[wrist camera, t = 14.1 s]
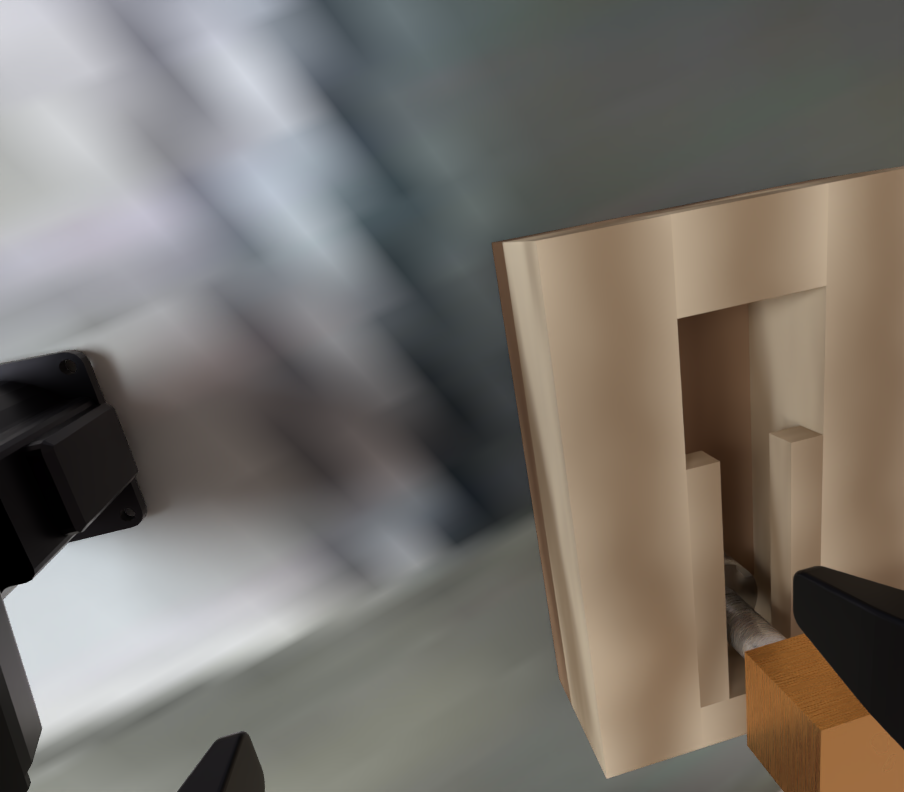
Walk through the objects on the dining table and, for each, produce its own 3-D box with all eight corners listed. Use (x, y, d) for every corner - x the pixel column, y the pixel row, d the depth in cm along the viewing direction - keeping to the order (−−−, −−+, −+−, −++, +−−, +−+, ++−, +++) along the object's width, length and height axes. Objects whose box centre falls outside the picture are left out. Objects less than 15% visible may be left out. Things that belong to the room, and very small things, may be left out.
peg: (660, 635, 24) (818, 836, 16) (654, 558, 23) (821, 730, 14) (743, 611, 24) (938, 794, 16) (741, 534, 23) (949, 688, 15)
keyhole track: (559, 679, 25) (606, 778, 21) (491, 242, 20) (535, 241, 15) (807, 605, 27) (904, 682, 22) (812, 179, 21) (946, 159, 16)
